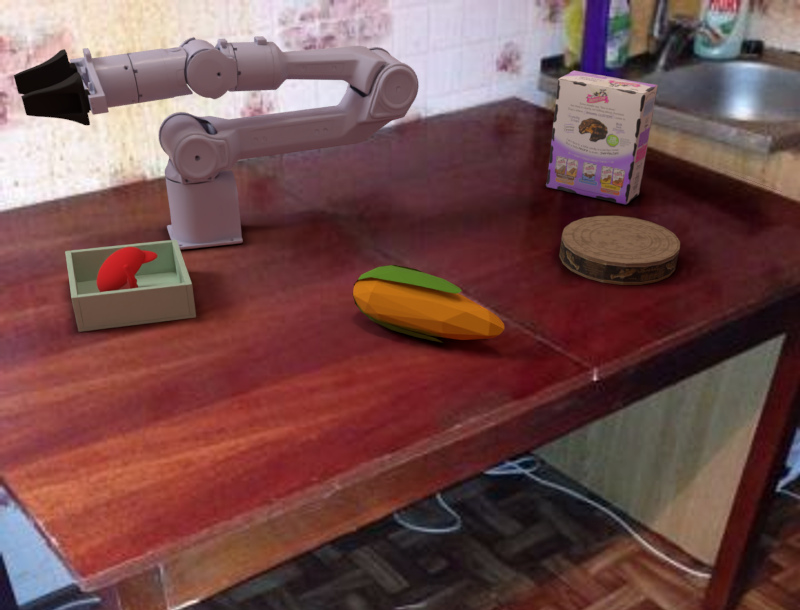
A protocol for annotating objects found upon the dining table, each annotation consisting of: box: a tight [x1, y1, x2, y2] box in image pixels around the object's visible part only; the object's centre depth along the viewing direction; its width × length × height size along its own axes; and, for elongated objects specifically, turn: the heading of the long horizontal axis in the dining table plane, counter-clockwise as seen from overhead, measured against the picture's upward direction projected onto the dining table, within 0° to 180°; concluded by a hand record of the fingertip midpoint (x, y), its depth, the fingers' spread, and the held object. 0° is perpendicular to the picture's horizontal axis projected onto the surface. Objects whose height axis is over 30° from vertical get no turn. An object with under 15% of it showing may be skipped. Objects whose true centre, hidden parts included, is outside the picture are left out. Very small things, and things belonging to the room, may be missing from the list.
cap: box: [97, 247, 158, 292], centre depth 121 cm, size 8×6×6 cm
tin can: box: [558, 215, 681, 286], centre depth 135 cm, size 16×16×3 cm
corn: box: [352, 264, 505, 344], centre depth 116 cm, size 7×8×20 cm
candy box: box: [545, 70, 659, 206], centre depth 150 cm, size 14×6×16 cm, turn 58°
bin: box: [64, 239, 197, 333], centre depth 122 cm, size 14×13×4 cm
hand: (19, 94), depth 119 cm, fingers open, 7 cm apart
